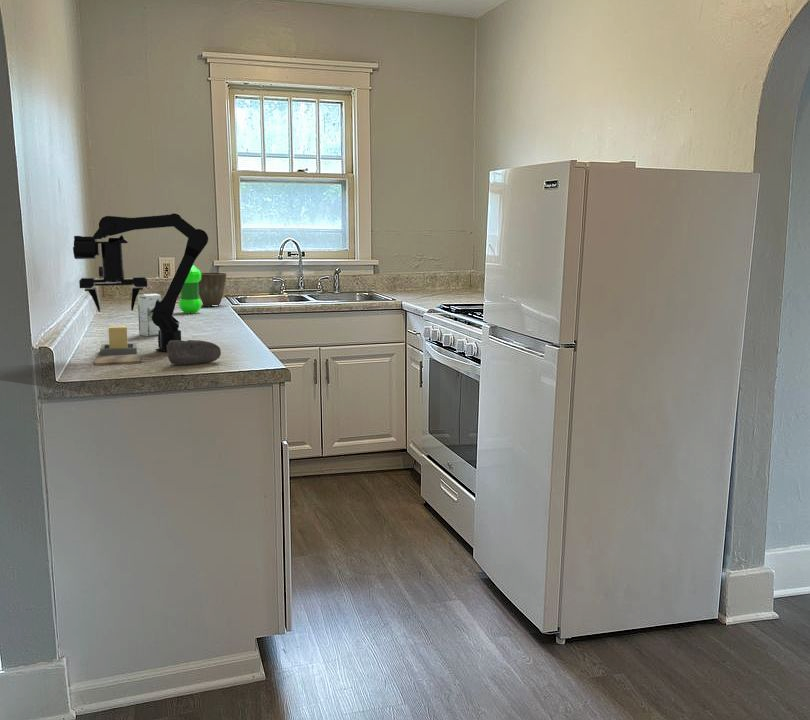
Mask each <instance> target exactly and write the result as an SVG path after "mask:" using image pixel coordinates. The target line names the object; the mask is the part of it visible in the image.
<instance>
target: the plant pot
mask: <svg viewBox="0 0 810 720" xmlns="http://www.w3.org/2000/svg"><path fill="white" fill-rule="evenodd" d="M226 279H227V273H225V272H201V280H200V281H199V299H200V300H201V303H202V305H203V307H205V306H212V305H219V304H220V305H221V302H222V299H223V295H224V292H225V287H226V286H225V285H226ZM220 305H219V306H220Z"/></svg>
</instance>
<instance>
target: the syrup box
mask: <svg viewBox="0 0 810 720" xmlns="http://www.w3.org/2000/svg"><path fill="white" fill-rule="evenodd" d="M157 299H160V300H161V301H162V294H159V293H143V294H139V293H138V295H137V308H138V334H139V335H140V336H145V337H154V336H158V335H159V332H158V330H160V328H159V326H157V325H155V324H154V323H153V321H152V314H153V313H151V311H152V309H153V308H154V307H155V304H156V300H157Z"/></svg>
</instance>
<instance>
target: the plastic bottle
mask: <svg viewBox="0 0 810 720" xmlns="http://www.w3.org/2000/svg"><path fill="white" fill-rule="evenodd" d="M201 273H202V272H201V270H200V269H198V268H197V267H196V266H195V265H194V264H193V266H192V268H191V270H190V272H189V274H188V277H187V279H186V281H185V283H184V285H183V287H182V289H181V292H180V299H179V301H178V306H179V307H178V308H179V309H180V310H181V311H182V312H183V313H184V314H187V313H193V314H197V313H198V312H199V311H200V310H201V308H202V305H203V303H202V301H201V298H200V295H199V281H200V280H201ZM196 312H197V313H196Z"/></svg>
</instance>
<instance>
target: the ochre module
mask: <svg viewBox="0 0 810 720" xmlns="http://www.w3.org/2000/svg"><path fill="white" fill-rule="evenodd" d="M127 328H128V327H127V325H108V344H109V346H110V349H113V348H128V343H129V342H128V329H127Z"/></svg>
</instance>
